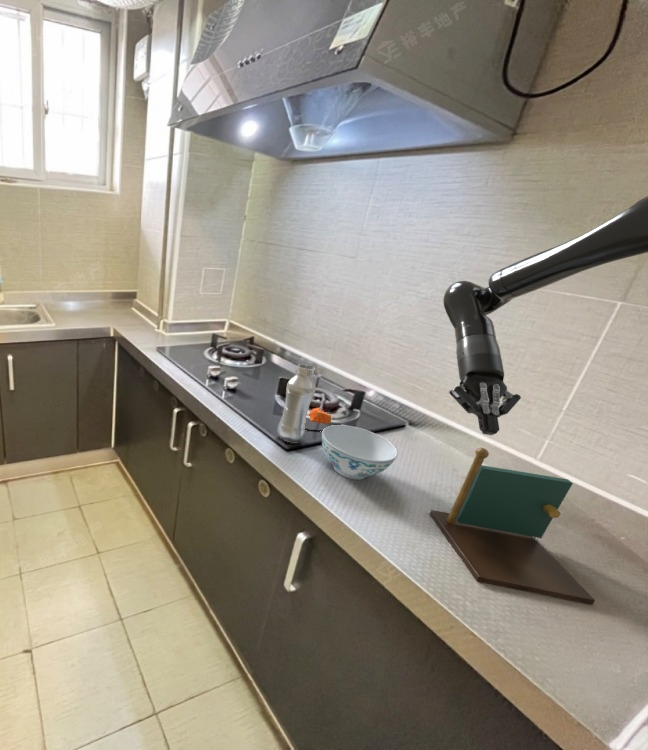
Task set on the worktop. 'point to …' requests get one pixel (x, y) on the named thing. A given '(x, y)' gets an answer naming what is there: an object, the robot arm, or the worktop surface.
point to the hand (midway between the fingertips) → (490, 433)
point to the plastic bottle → (297, 404)
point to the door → (513, 501)
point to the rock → (319, 416)
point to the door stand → (505, 552)
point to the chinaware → (357, 451)
